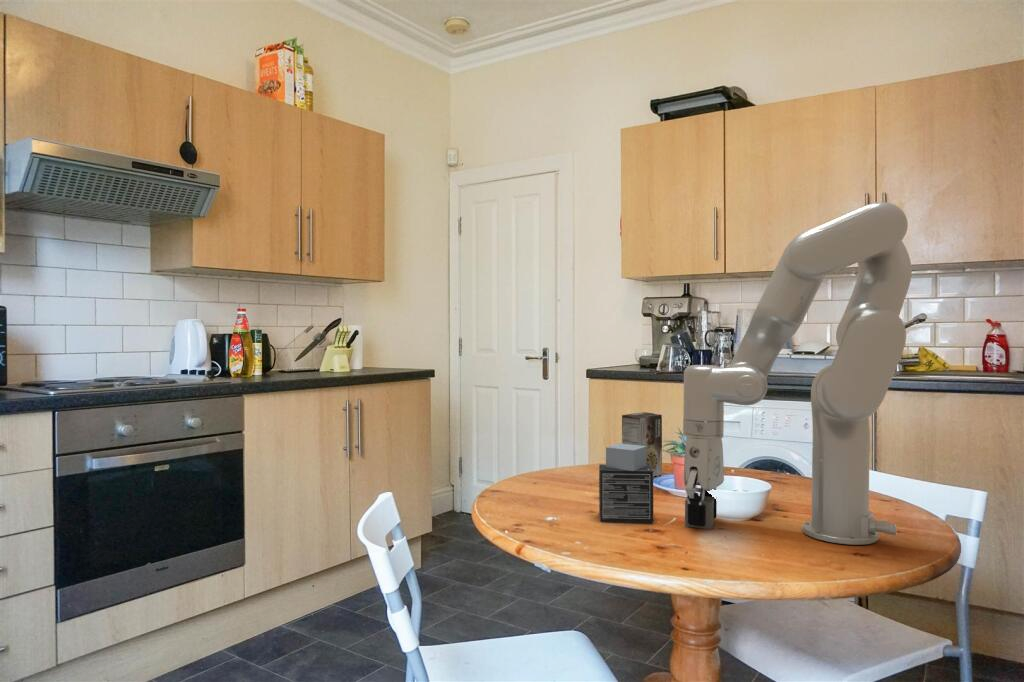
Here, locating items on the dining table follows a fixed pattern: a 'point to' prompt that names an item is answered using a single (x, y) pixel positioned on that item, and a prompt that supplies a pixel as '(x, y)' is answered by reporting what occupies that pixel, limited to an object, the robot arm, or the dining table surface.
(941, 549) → the dining table surface
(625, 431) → the coffee box
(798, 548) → the dining table surface
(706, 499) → the brown grey cube
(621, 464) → the slate block
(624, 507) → the small box
